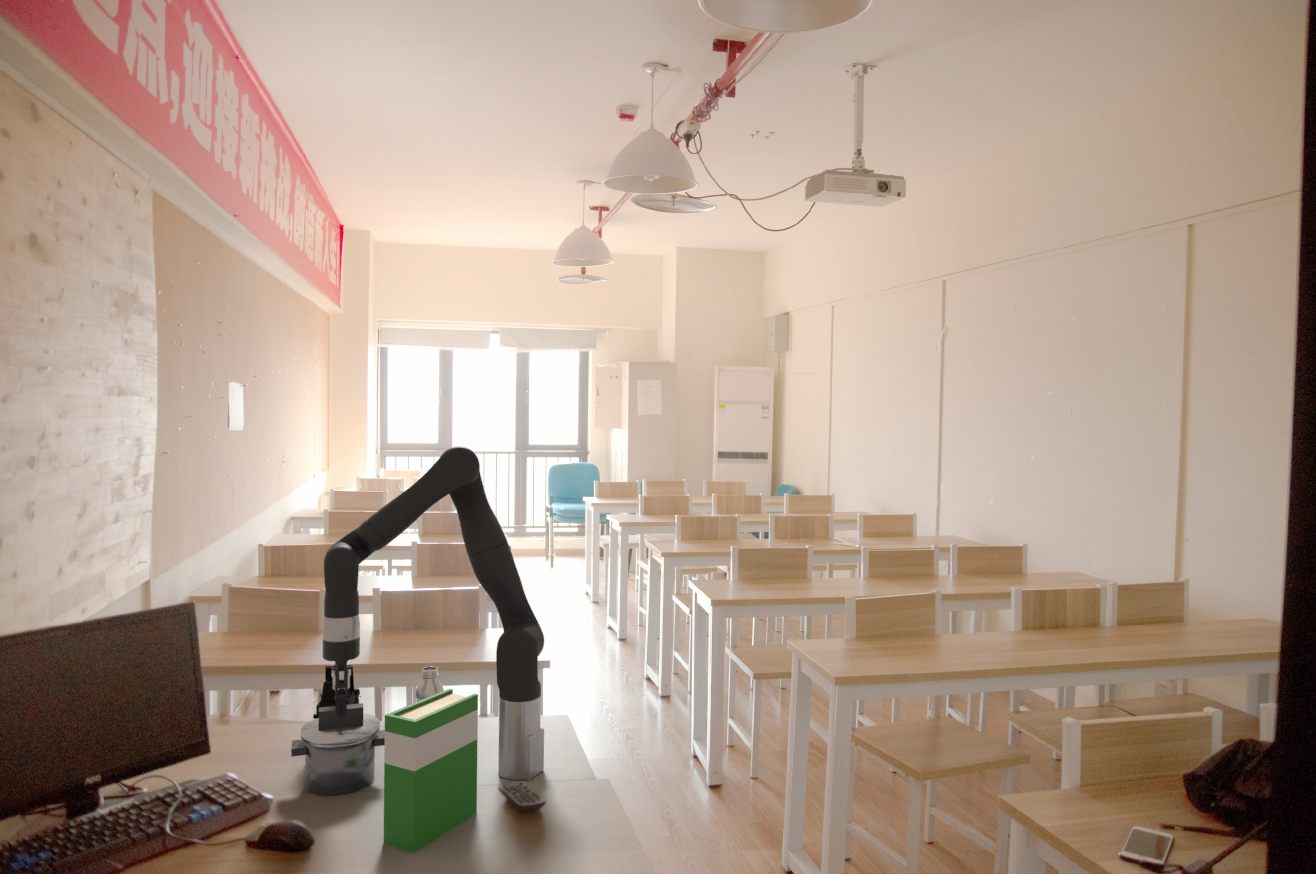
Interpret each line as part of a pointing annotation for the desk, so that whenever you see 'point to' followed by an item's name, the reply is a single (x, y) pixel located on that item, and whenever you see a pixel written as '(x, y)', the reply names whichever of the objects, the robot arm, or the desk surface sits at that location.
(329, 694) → the camera
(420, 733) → the hardback book
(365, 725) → the lid
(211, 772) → the desk surface
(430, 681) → the plastic bottle
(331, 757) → the pot
